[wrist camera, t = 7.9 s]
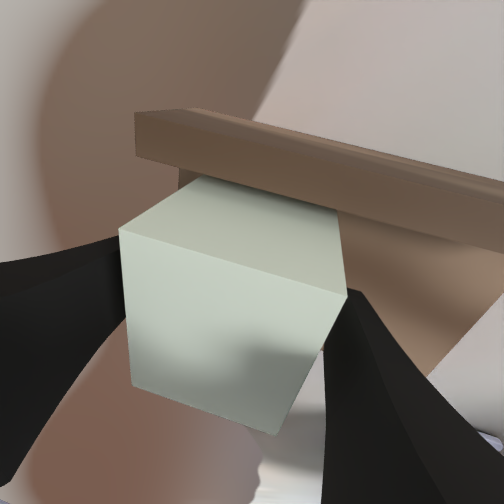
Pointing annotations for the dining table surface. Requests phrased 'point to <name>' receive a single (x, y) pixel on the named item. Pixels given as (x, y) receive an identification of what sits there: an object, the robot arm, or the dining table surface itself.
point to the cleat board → (362, 216)
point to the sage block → (230, 297)
